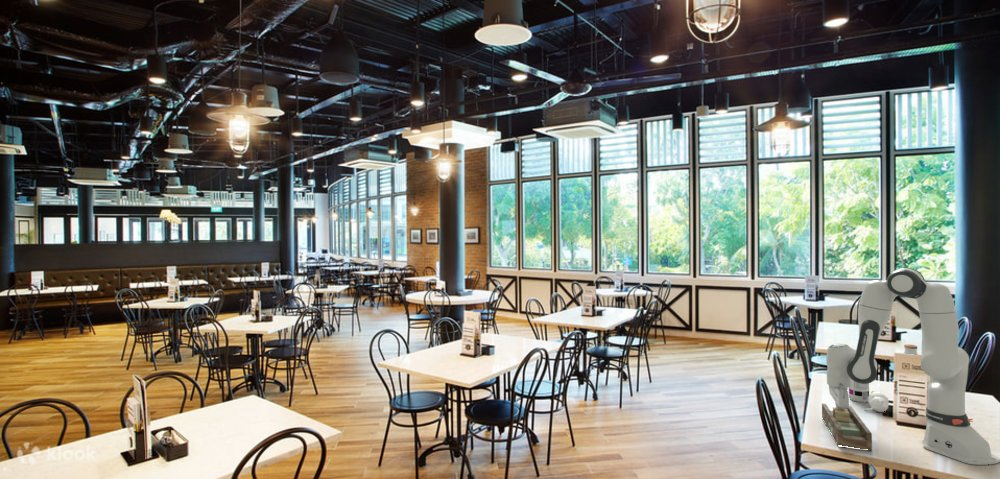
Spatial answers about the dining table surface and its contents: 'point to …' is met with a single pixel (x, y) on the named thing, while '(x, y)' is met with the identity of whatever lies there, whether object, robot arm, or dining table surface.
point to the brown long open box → (848, 429)
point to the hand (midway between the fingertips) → (839, 412)
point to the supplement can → (859, 391)
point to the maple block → (841, 414)
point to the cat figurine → (877, 402)
